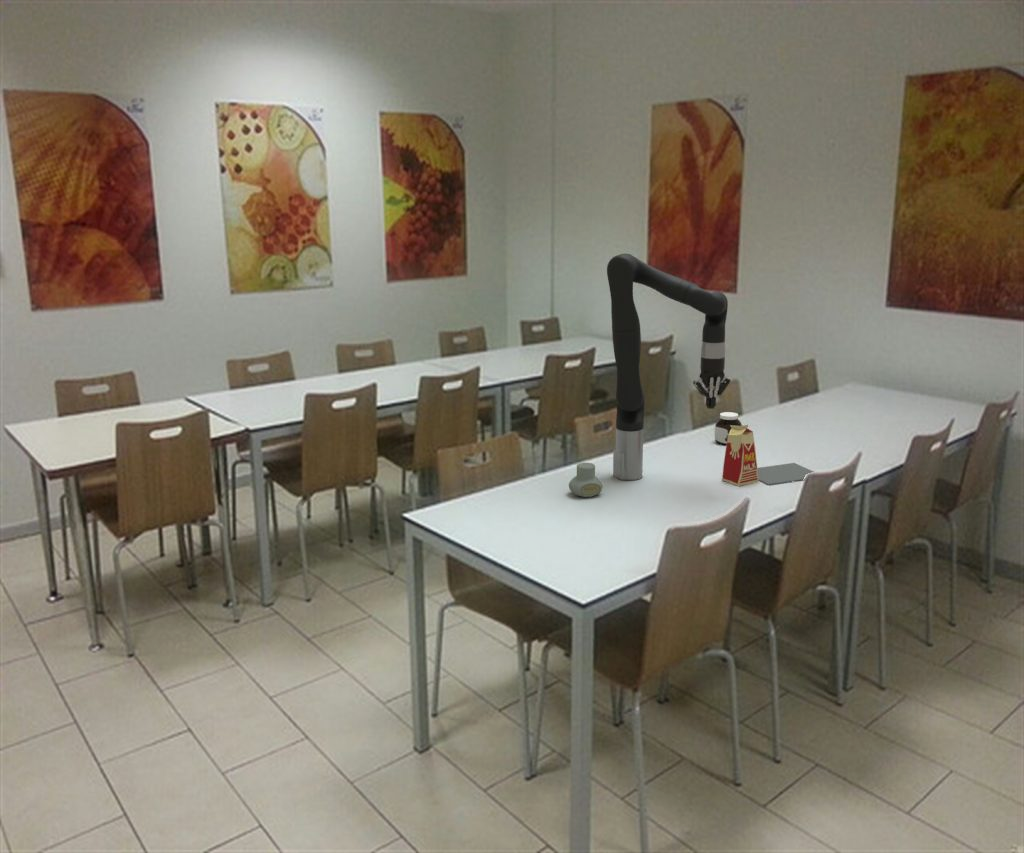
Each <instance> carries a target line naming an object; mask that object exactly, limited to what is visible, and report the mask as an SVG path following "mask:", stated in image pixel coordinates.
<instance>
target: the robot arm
mask: <svg viewBox="0 0 1024 853" xmlns="http://www.w3.org/2000/svg"><path fill="white" fill-rule="evenodd" d="M606 274H607V281H608V285H609V286H608V287H609V292H610V299H611V300H610V302H611V303H610V304H611V306H610V308H611V312H610V313H611V333H612V335H611V336H612V345H613V346H612V348H613V352H614V353H613V355H614V359H615V368H616V393H615V401H616V416H615V419H616V420H615V448H613V452H612V455H613V457H612V458H613V459H612V460H613V462H612V464H613V465H612V466H613V468H612V476H614V477H615V478H617V479H618V480H619V481H635V480H636V481H637V480H639V479H642V477H643V472H644V470H643V467H644V466H643V465H644V464H643V459H644V422H645V420H644V419H645V389H644V387H643V385H642V383H641V377H640V376H641V375H640V361H641V349H642V348H641V347H642V336H641V335H642V334H641V323H640V322H641V321H640V318H639V313H638V311H637V308H636V304H635V300H634V283H636V284H639V285H643V286H645V287H647V288H648V287H649V288H650V289H652V290H655V291H657V292H658V293H660V295H663V296H665V297H666V298H669V299H671V300H673V301H675V302H678V303H680V304H683V305H686V306H689V307H691V308H693V309H694V310H696V311H697V312H700V313H702V314H704V316H705V317H704V324H703V327H702V337H701V338H702V339H701V348H700V367H699V368H700V374H699V376H698V378H697V380H693V382H692V384H693V385H694V386H695V388H696V390H697V391H698V392H699V393H700V395H701V396H704V397H705V407H706V408H707V409H710V410H711V409H715V407H716V405H717V404H716V403H717V397H718V396H721V395H722V394H723V393H724V392H725V390H726V389H727V387H728V386H729V384H730V382H731V379H729V378H727V377H726V375H725V364H726V363H725V362H726V323H727V322H726V321H727V314H728V307H729V305H728V304H729V303H728V302H729V301H728V298H727V296H726V295H725V294H724V293H723V292H721V291H713V292H711V291H708V290H706V289H704V288H701V287H700V286H699V285H697V284H696V283H693V282H691V281H689V280H686V279H683V278H682V277H681V278H680V277H678V276H676V275H672V274H670V273H667V272H664V271H662V270H659V269H657V268H654V266H651V265H649V264H648V263H645V262H643V261H642V260H640V259H639V258H638V257H635V256H634V255H632V254H631V253H620V254H617V255H615V256H613V257H612V258H611V259H609V262H608V263H607V266H606ZM703 386H704V387H703Z"/></svg>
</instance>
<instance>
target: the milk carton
mask: <svg viewBox="0 0 1024 853" xmlns="http://www.w3.org/2000/svg"><path fill="white" fill-rule="evenodd" d="M742 425H743V424H742ZM730 426H731V427H732V428H731V430H730V432H729V435H728V440H727V445H726V446H725V453H724V459H723V465H722V466H723V467H722V477H721V481H724V482H727V483H730V484H732V485H734V486H736V487H742V486H747V485H751V484H755V483H758V482H759V483H760V481H759V479H758V468H759V467H758V462H757V461H758V460H757V452H756V446H755V445H756V444H755V436H754V431H753V430H751V429H749V428H748V427H749V424H744V425H743V426H732V425H730Z"/></svg>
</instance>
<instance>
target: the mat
mask: <svg viewBox="0 0 1024 853" xmlns="http://www.w3.org/2000/svg"><path fill="white" fill-rule="evenodd" d="M757 468H758V479H759V483H760V482H761V483H763V484H764V483H765V485H766V486H768V485H769V486H772V485H773V486H774V484H775V485H781V484H780V483H782V484H788V483H787V482H789V483H793V482H792V481H796V482H802V481H804V480H803V479H804V477H805V475H806V474H808V473H811V472H815V471H814V470H812V469H809V468H807V467H805V466H802V465H800V464H798V463H796V462H791V463H784V464H777V465H776V464H775V465H770V466H762V467H757Z"/></svg>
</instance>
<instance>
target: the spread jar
mask: <svg viewBox="0 0 1024 853" xmlns="http://www.w3.org/2000/svg"><path fill="white" fill-rule="evenodd" d="M730 425H732V426H743V424H742V422H741V420H739V414H738V413H737V412H731V411H724V412H720V413H719V419H718V420H717V421H716V422H715V425H714V440H715V441H716V443H717V444H719V445H720V446H725V447H726V445H727V440H728V435H729V432H730V430H731V428H732V427H731V426H730Z"/></svg>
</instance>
